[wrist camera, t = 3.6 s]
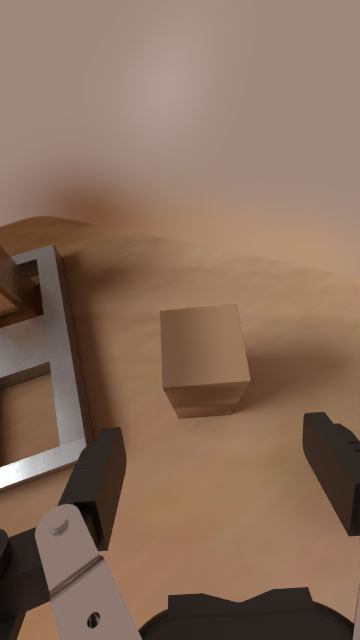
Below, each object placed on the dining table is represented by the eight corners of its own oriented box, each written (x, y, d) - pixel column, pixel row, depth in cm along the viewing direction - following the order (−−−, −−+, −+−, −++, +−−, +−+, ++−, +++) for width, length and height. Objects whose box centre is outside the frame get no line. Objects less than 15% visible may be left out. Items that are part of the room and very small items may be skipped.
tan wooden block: (223, 359, 24) (235, 297, 15) (231, 414, 22) (250, 380, 13) (175, 363, 24) (160, 304, 15) (179, 418, 22) (162, 387, 13)
